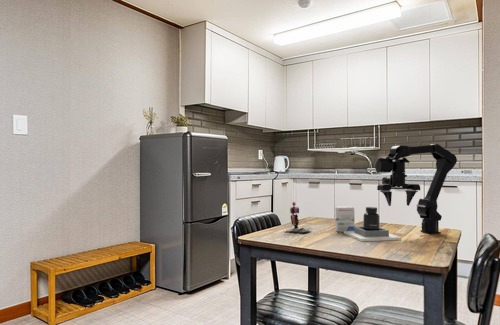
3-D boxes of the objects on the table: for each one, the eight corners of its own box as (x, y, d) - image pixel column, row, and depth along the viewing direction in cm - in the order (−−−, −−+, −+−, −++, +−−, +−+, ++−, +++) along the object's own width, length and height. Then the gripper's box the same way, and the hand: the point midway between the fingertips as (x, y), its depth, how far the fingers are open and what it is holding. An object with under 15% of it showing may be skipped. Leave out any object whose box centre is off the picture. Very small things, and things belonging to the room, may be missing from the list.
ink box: (352, 230, 175) (352, 206, 175) (354, 231, 170) (354, 207, 170) (335, 229, 175) (335, 206, 176) (336, 231, 170) (336, 207, 171)
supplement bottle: (372, 236, 154) (372, 208, 154) (360, 233, 160) (359, 207, 160) (382, 234, 157) (382, 207, 158) (370, 232, 163) (370, 206, 163)
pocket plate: (379, 232, 169) (379, 224, 169) (400, 239, 151) (400, 231, 151) (343, 233, 166) (343, 225, 166) (361, 241, 148) (361, 232, 148)
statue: (284, 234, 170) (280, 203, 171) (292, 231, 178) (288, 201, 179) (305, 234, 164) (300, 202, 165) (312, 230, 172) (308, 200, 173)
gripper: (406, 172, 174) (407, 203, 174) (371, 172, 172) (371, 204, 172) (420, 172, 163) (421, 206, 163) (383, 172, 161) (383, 206, 161)
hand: (398, 205), depth 165 cm, fingers open, 9 cm apart
